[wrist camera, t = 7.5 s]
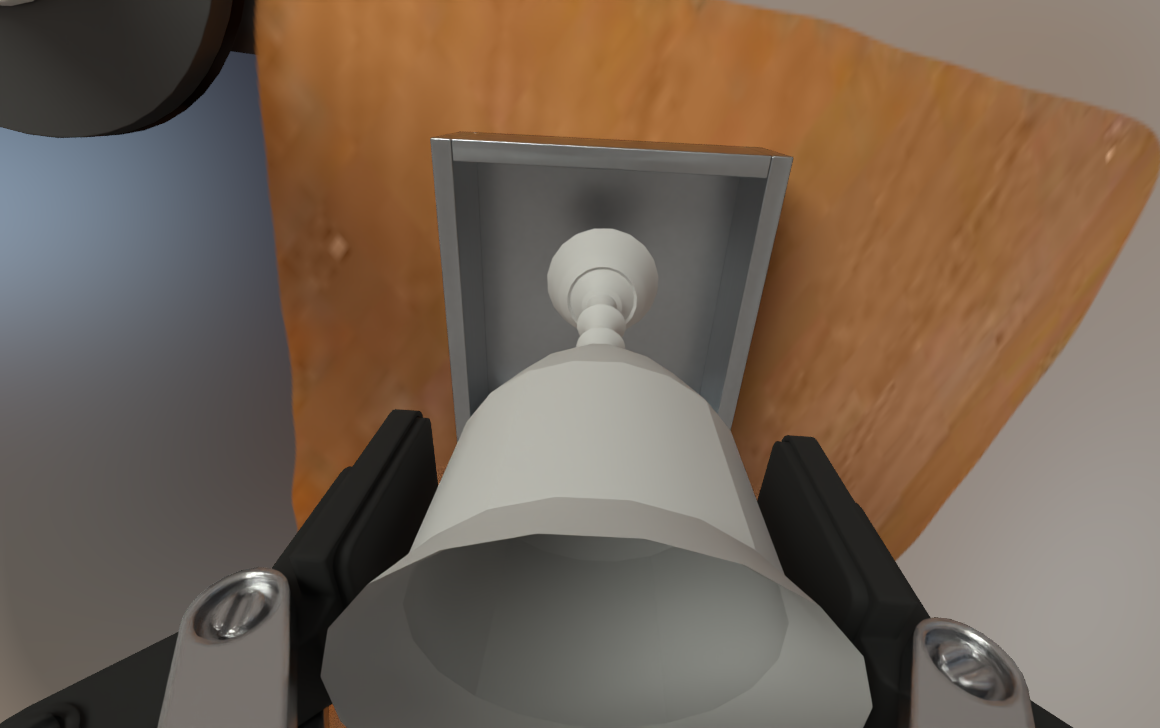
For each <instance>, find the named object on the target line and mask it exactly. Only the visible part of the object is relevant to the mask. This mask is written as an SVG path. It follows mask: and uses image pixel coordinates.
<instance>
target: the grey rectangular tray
mask: <svg viewBox="0 0 1160 728" xmlns="http://www.w3.org/2000/svg"><path fill="white" fill-rule="evenodd" d="M430 140H431V152H432V163H433V174H434V185H435V197H436V208H437V219H438V231H439V242H440V253H441V264H442V276H443V287H444V298H445V310H446V321H447V332H448V343H449V355H450V366H451V377H452V389H453V400H454V411H455V422H456V434H457V443H458V440H459V438H460V436H461V434H462V431H463V429H464V427H465V425H466V422H467V421H468V420H469V418H470V417H471V416H472V415H473V414H474V412H475V411H476V410H477V409H478V408H479V406H480V405H481V404H482V403H483V402H484V400H485V399H486V398H487V397H488V396H489V394H490V393H491V392H493V391H494V390H495V389H497V388H498V387H500V386H501V385H503V384H504V383H506V382H507V381H508V380H510V379H511V378H513V377H514V376H516V375H517V374H519V373H520V372H521V371H523V370H524V369H526V368H527V367H529V366H531V365H533V364H534V363H536V362H538V361H540V360H541V359H543V358H545V357H546V356H548V355H550V354H552V353H556V352H560V351H564V350H568V349H572V348H575V347H576V344H577V342H578V339H579V337H580V335H579V333H578V330H577V328H575V327H574V326H572V325H571V324H570V323H568V322H567V321H566V320H564V319H563V318H562V316H561V315H560V314H559V313H558V311H557V310H556V309H555V308H554V306H553V303H552V301H551V298H550V295H549V293H548V280H547V274H548V271H549V268H550V264H551V261H552V258H553V257H554V255H555V254H556V253H557V251H558V250H559V248H560V247H561V246H562V244H564V243H565V242H566V241H568V240H569V239H571V238H572V237H573V236H575V235H576V234H578V233H582V232H585V231H588V230H591V229H615V230H618V231H621V232H624V233H627V234H630V235H631V236H633V237H634V238H635V239H636V240H638V241H639V242H640V243H642V244H643V245H644V246H645V247H646V249H647V250H648V252H649V253H650V255H651V256H652V258H653V259H654V261H655V265H656V269H657V273H658V289H657V295H656V297H655V299H654V302H653V304H652V307H651V309H650V310H649V311H648V312H647V313H646V314H645V315H644V317H643V318H642V319H641V320H640V321H639V322H637V323H636V324H634V325H632V326H631V327H629V328H628V329H626V330H625V333H624V335H623V337H622V339H623V341H624V344H625V349H626V350H629V351H632V352H635V353H638V354H641V355H644V356H647V357H648V358H650V359H652V360H653V361H655V362H656V363H658V364H659V365H661V366H662V367H664V368H666V369H667V370H669V371H670V372H672V373H673V374H674V375H676V376H677V377H678V378H679V379H681V380H682V381H683V382H684V383H686V384H687V385H688V386H689V387H691V388H692V389H693V390H694V391H696V392H697V393H698V394H699V395H700V396H702V397H703V398H704V399H705V400H706V401H707V402H708V403H709V404H710V406H711V407H712V408H713V409H714V411H715V412H716V413H717V414H718V416H719V417H720V418H721V419H722V421H723V422H724V423H725V424H726V426H727V427H728V428H729V430H730V431H731V426H732V422H733V418H734V413H735V409H736V405H737V400H738V396H739V392H740V387H741V383H742V379H743V374H744V370H745V366H746V361H747V357H748V353H749V348H750V344H751V340H752V335H753V331H754V327H755V322H756V318H757V314H758V309H759V305H760V301H761V296H762V292H763V288H764V283H765V279H766V275H767V270H768V266H769V262H770V257H771V253H772V249H773V244H774V240H775V236H776V231H777V227H778V223H779V218H780V214H781V210H782V205H783V201H784V197H785V192H786V188H787V184H788V179H789V175H790V171H791V166H792V162H793V157H791V156H788V155H785V154H781V153H778V152H774V151H771V150H768V149H764V148H759V147H740V146H721V145H702V144H684V143H665V142H646V141H627V140H608V139H590V138H571V137H552V136H533V135H515V134H496V133H477V132H457V133H452V134H447V135H442V136H437V137H432V138H431V139H430Z"/></svg>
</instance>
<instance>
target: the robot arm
mask: <svg viewBox="0 0 1160 728" xmlns="http://www.w3.org/2000/svg"><path fill="white" fill-rule="evenodd" d="M32 1H34V0H0V5H1V6H14V5H18V4H23V3H28V2H32ZM437 488H438V480H437V472H436V463H435V455H434V446H433V438H432V429H431V422H430V419H429V418H423V415H422V413H421V412H420V411H412V410H397V409H395V410H392V412H391V413H390V414H389V415H388V417H387V418H386V420H385V421H384V423H383V424H382V425H381V427H380V428H379V430H378V431H377V433H376V434H375V435H374V437H373V438H372V440H371V441H370V442H369V444H368V445H367V447H366V448H365V450H364V451H363V452H362V454H361V455H360V457H359V458H358V460H357V461H356V462H355V464H354V465H353V467H350V466H349V467H347V468H345V469H344V470H343V471H342V472H341V473H340V474H339V476H338V477H337V478H336V480H335V481H334V483H333V484H332V485H331V487H330V488H329V490H328V491H327V492H326V494H325V495H324V496H323V498H322V499H321V501H320V502H319V503H318V505H317V506H316V508H315V509H314V510H313V512H312V513H311V515H310V516H309V517H308V519H307V520H306V521H305V523H304V524H303V526H302V527H301V528H300V530H299V531H298V533H297V534H296V535H295V537H294V538H293V540H292V541H291V542H290V544H289V545H288V546H287V548H286V549H285V551H284V552H283V553H282V555H281V556H280V557H279V559H278V560H277V562H276V563H275V564H274V566H273V567H272V569H271V568H251V569H246V570H241V571H239V572H236V573H234V574H231V575H228V576H226V577H224V578H222V579H221V580H219V581H217V582H216V583H214V584H212V585H211V586H209V587H208V588H207V589H206V590H205V591H204V592H202V593H201V594H200V595H199V596H198V597H196V599H195V600H194V601H193V602H192V604H191V605H190V606H189V607H188V609H187V610H186V612H185V614H184V617H183V619H182V621H181V624H180V628H179V632H177V633H175V634H173V635H171V636H169V637H167V638H165V639H163V640H161V641H159V642H157V643H155V644H153V645H151V646H149V647H147V648H145V649H143V650H141V651H139V652H137V653H135V654H133V655H131V656H129V657H127V658H125V659H123V660H121V661H119V662H117V663H115V664H113V665H111V666H109V667H107V668H105V669H103V670H101V671H99V672H97V673H95V674H93V675H91V676H89V677H87V678H85V679H83V680H81V681H79V682H77V683H75V684H73V685H71V686H69V687H67V688H65V689H63V690H61V691H59V692H57V693H55V694H53V695H51V696H49V697H47V698H45V699H43V700H41V701H39V702H37V703H35V704H33V705H31V706H29V707H27V708H25V709H24V710H22V711H20V712H19V713H17V714H15V715H13V716H12V717H10V718H8V719H6V720H5V721H3V722H2V723H1V724H0V728H330V725H329V705H331V704H332V701H331V699H330V697H329V694H328V692H327V690H326V688H325V685H324V683H323V681H322V679H321V670H322V663H323V657H324V650H325V644H326V637H327V631H328V628H329V627H330V626H331V625H332V623H333V622H334V621H335V620H336V619H337V618H338V617H339V616H340V615H341V613H342V612H343V611H344V610H345V609H346V608H347V607H348V606H349V604H350V603H351V602H352V601H353V600H354V599H355V598H356V597H357V596H358V594H359V593H360V592H361V591H362V590H363V589H364V588H365V587H366V585H367V584H368V583H370V582H371V581H373V580H374V579H375V578H377V577H378V576H379V575H381V574H382V573H383V572H385V571H386V570H387V569H389V568H390V567H392V566H393V565H394V564H396V563H397V562H398V561H400V560H401V559H402V558H404V557H405V556H406V555H408V554H409V552H410V550H411V547H412V545H413V543H414V540H415V538H416V536H417V534H418V531H419V529H420V527H421V525H422V522H423V520H424V518H425V515H426V513H427V511H428V509H429V506H430V504H431V502H432V500H433V497H434V495H435V493H436V490H437ZM757 503H758V505H759V508H760V511H761V513H762V516H763V519H764V521H765V524H766V527H767V529H768V532H769V535H770V537H771V540H772V543H773V545H774V548H775V551H776V553H777V556H778V559H779V561H780V564H781V567H782V569H783V572H784V575H785V576H786V577H787V578H788V579H789V580H790V581H792V582H793V583H794V584H795V585H796V586H797V587H798V588H800V589H801V590H802V591H803V592H804V593H805V594H806V595H808V596H809V597H810V598H811V599H812V600H813V601H814V602H816V603H817V604H818V605H819V606H820V607H821V608H822V609H823V610H824V611H825V613H826V614H827V615H828V616H829V617H830V618H831V620H832V621H833V622H834V623H835V624H836V625H837V627H838V628H839V629H840V630H841V631H842V632H843V633H844V635H845V636H846V637H847V638H848V639H849V640H850V642H851V643H852V644H853V645H854V646H855V647H856V648H857V650H858V651H859V652H860V653H861V654H862V655H863V657H864V661H865V667H866V672H867V678H868V684H869V689H870V695H871V700H872V706H873V707H872V710H871V712H870V714H869V716H868V718H867V720H866V722H865V725H864V727H863V728H1073V727H1071V726H1070V725H1068V724H1066V723H1065V722H1063V721H1062V720H1060V719H1059V718H1057V717H1056V716H1054V715H1053V714H1051V713H1050V712H1048V711H1046V710H1045V709H1043V708H1042V707H1040V706H1039V705H1037V704H1035V703H1034V702H1033V701H1031V700H1030V696H1029V691H1028V687H1027V685H1026V682H1025V679H1024V676H1023V674H1022V672H1021V671H1020V670H1019V668H1018V667H1017V665H1016V664H1015V662H1014V661H1013V659H1012V658H1010V656H1009V655H1008V654H1007V653H1006V652H1005V651H1004V650H1002V648H1001V647H999V645H997V644H996V643H995V642H993V641H992V640H991V639H989V638H988V637H987V636H985V635H984V634H983V633H981V632H979V631H977V630H975V629H973V628H972V627H970V626H968V625H966V624H963V623H960V622H957V621H954V620H951V619H947V618H938V617H934V618H930V616H929V615H928V613H927V612H926V610H925V608H924V607H923V605H922V604H921V602H920V600H919V599H918V597H917V596H916V594H915V593H914V591H913V589H912V588H911V586H910V584H909V583H908V581H907V580H906V578H905V576H904V575H903V573H902V572H901V570H900V569H899V567H898V565H897V564H896V562H895V560H894V559H893V557H892V556H891V554H890V552H889V551H888V549H887V548H886V546H885V544H884V543H883V541H882V540H881V538H880V536H879V535H878V533H877V532H876V530H875V528H874V527H873V525H872V524H871V522H870V520H869V519H868V517H867V516H866V514H865V512H864V511H863V509H862V508H861V507H860V506H859V505H858V504H857V503H855V501H854V500H853V498H852V497H851V495H850V493H849V492H848V490H847V489H846V487H845V485H844V484H843V482H842V480H841V479H840V477H839V476H838V474H837V472H836V471H835V469H834V467H833V466H832V464H831V463H830V461H829V459H828V458H827V456H826V455H825V453H824V451H823V450H822V448H821V446H820V445H819V443H818V442H817V440H816V439H815V438H813V437H804V436H789V435H787V436H785V437H784V438H783V439H782V442H779V441H777V442H775V443H774V445H773V448H772V452H771V455H770V459H769V462H768V466H767V469H766V473H765V476H764V480H763V483H762V487H761V490H760V494H759V497H758V501H757Z"/></svg>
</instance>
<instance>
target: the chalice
mask: <svg viewBox="0 0 1160 728" xmlns="http://www.w3.org/2000/svg"><path fill="white" fill-rule="evenodd" d="M547 280H548V293H549V295H550V298H551V301H552V303H553V306H554V308H555V309H556V310H557V311H558V313H559V314H560V315H561V316H562V318H563V319H564V320H566V321H567V322H568V323H570V324H571V325H572V326H574V327H575V328H577V330H578V333H579V335H580V337H579V339H578V342H577V344H576V347H575V348H572V349H568V350H564V351H560V352H556V353H552V354H550V355H548V356H546V357H545V358H543V359H541V360H540V361H538V362H536V363H534V364H533V365H531V366H529V367H527V368H526V369H524V370H523V371H521V372H520V373H519V374H517V375H516V376H514V377H513V378H511V379H510V380H508V381H507V382H506V383H504V384H503V385H501V386H500V387H498V388H497V389H495V390H494V391H493V392H491V393H490V394H489V396H488V397H487V398H486V399H485V400H484V402H483V403H482V404H481V405H480V406H479V408H478V409H477V410H476V411H475V412H474V414H473V415H472V416H471V417H470V418H469V420H468V421H467V422H466V425H465V427H464V429H463V431H462V434H461V436H460V438H459V440H458V443H457V445H456V447H455V450H454V452H453V454H452V456H451V459H450V461H449V463H448V465H447V468H446V470H445V472H444V475H443V477H442V479H441V481H440V484H439V486H438V488H437V490H436V493H435V495H434V497H433V500H432V502H431V504H430V506H429V509H428V511H427V513H426V515H425V518H424V520H423V522H422V525H421V527H420V529H419V531H418V534H417V536H416V538H415V540H414V543H413V545H412V547H411V550H410V552H409V554H408V555H406V556H405V557H404V558H402V559H401V560H400V561H398V562H397V563H396V564H394V565H393V566H392V567H390V568H389V569H387V570H386V571H385V572H383V573H382V574H381V575H379V576H378V577H377V578H375V579H374V580H373V581H371V582H370V583H368V584H367V585H366V587H365V588H364V589H363V590H362V591H361V592H360V593H359V594H358V596H357V597H356V598H355V599H354V600H353V601H352V602H351V603H350V604H349V606H348V607H347V608H346V609H345V610H344V611H343V612H342V613H341V615H340V616H339V617H338V618H337V619H336V620H335V621H334V622H333V623H332V625H331V626H330V627H329V628H328V631H327V637H326V644H325V650H324V657H323V663H322V670H321V679H322V681H323V683H324V685H325V688H326V690H327V692H328V694H329V697H330V699H331V701H332V703H333V705H334V708H335V710H336V712H337V714H338V717H339V719H340V721H341V722H342V723H343V724H344V725H345V726H346V727H347V728H863V727H864V725H865V722H866V720H867V718H868V716H869V714H870V712H871V710H872V707H873V706H872V700H871V695H870V689H869V684H868V678H867V672H866V667H865V661H864V657H863V655H862V654H861V653H860V652H859V651H858V650H857V648H856V647H855V646H854V645H853V644H852V643H851V642H850V640H849V639H848V638H847V637H846V636H845V635H844V633H843V632H842V631H841V630H840V629H839V628H838V627H837V625H836V624H835V623H834V622H833V621H832V620H831V618H830V617H829V616H828V615H827V614H826V613H825V611H824V610H823V609H822V608H821V607H820V606H819V605H818V604H817V603H816V602H814V601H813V600H812V599H811V598H810V597H809V596H808V595H806V594H805V593H804V592H803V591H802V590H801V589H800V588H798V587H797V586H796V585H795V584H794V583H793V582H792V581H790V580H789V579H788V578H787V577H786V576H785V575H784V572H783V569H782V567H781V564H780V561H779V559H778V556H777V553H776V551H775V548H774V545H773V543H772V540H771V537H770V535H769V532H768V529H767V527H766V524H765V521H764V519H763V516H762V513H761V511H760V508H759V505H758V503H757V500H756V497H755V495H754V492H753V489H752V487H751V484H750V481H749V479H748V476H747V473H746V471H745V468H744V465H743V463H742V460H741V457H740V455H739V452H738V449H737V447H736V444H735V441H734V439H733V436H732V433H731V431H730V430H729V428H728V427H727V426H726V424H725V423H724V422H723V421H722V419H721V418H720V417H719V416H718V414H717V413H716V412H715V411H714V409H713V408H712V407H711V406H710V404H709V403H708V402H707V401H706V400H705V399H704V398H703V397H702V396H700V395H699V394H698V393H697V392H696V391H694V390H693V389H692V388H691V387H689V386H688V385H687V384H686V383H684V382H683V381H682V380H681V379H679V378H678V377H677V376H676V375H674V374H673V373H672V372H670V371H669V370H667V369H666V368H664V367H662V366H661V365H659V364H658V363H656V362H655V361H653V360H652V359H650V358H648V357H647V356H644V355H641V354H638V353H635V352H632V351H629V350H626V349H625V344H624V341H623V339H622V337H623V335H624V333H625V330H626V329H628V328H629V327H631V326H632V325H634V324H636V323H637V322H639V321H640V320H641V319H642V318H643V317H644V315H645V314H646V313H647V312H648V311H649V310H650V309H651V307H652V304H653V302H654V299H655V297H656V295H657V289H658V273H657V269H656V265H655V261H654V259H653V258H652V256H651V255H650V253H649V252H648V250H647V249H646V247H645V246H644V245H643V244H642V243H640V242H639V241H638V240H636V239H635V238H634V237H633V236H631V235H630V234H627V233H624V232H621V231H618V230H615V229H591V230H588V231H585V232H582V233H578V234H576V235H575V236H573V237H572V238H571V239H569V240H568V241H566V242H565V243H564V244H562V246H561V247H560V248H559V250H558V251H557V253H556V254H555V255H554V257H553V258H552V261H551V264H550V268H549V271H548V274H547Z"/></svg>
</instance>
